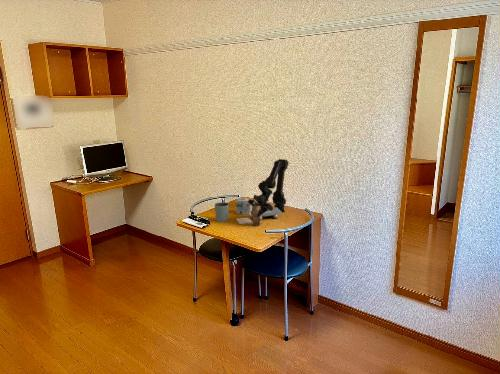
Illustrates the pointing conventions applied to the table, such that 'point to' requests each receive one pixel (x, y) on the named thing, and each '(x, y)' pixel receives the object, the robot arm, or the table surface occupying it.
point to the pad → (244, 220)
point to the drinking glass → (221, 211)
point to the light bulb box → (243, 206)
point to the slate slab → (271, 213)
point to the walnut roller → (256, 215)
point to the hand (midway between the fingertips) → (254, 215)
